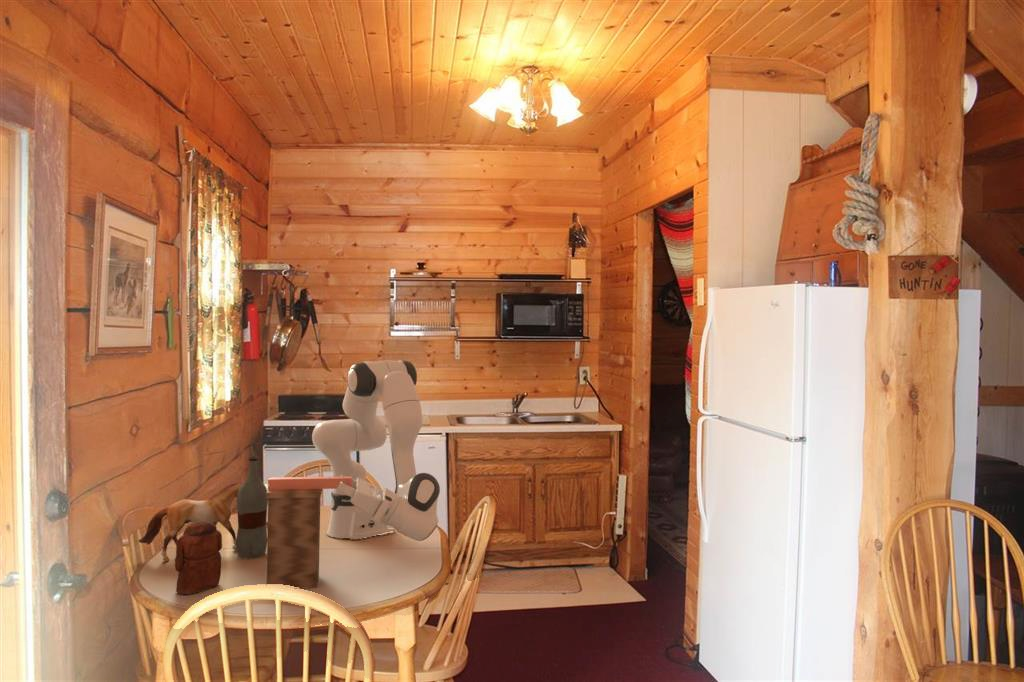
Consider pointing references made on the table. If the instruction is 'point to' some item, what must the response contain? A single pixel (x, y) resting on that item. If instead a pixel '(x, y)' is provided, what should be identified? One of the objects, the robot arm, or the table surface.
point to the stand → (293, 537)
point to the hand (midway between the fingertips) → (339, 480)
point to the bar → (307, 482)
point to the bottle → (252, 515)
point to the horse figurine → (194, 515)
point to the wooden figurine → (198, 558)
